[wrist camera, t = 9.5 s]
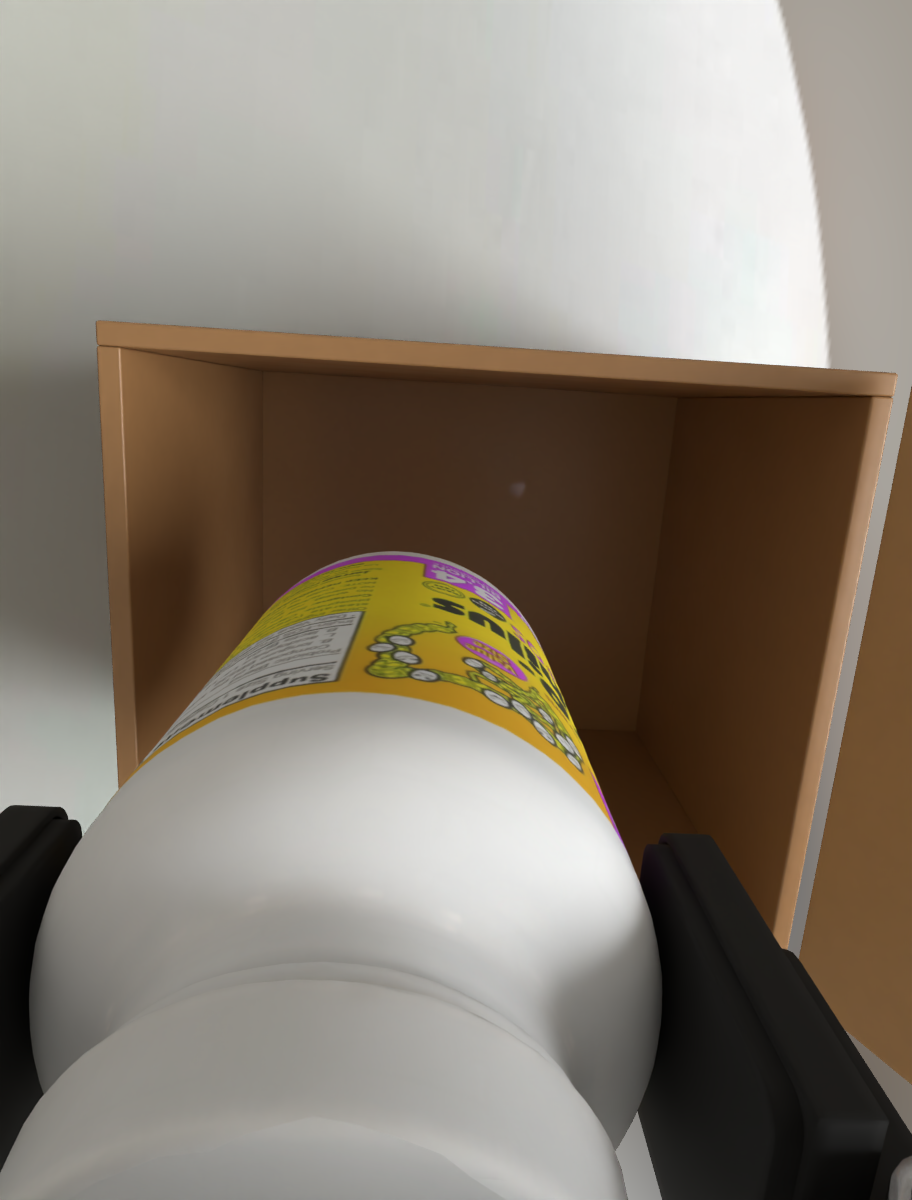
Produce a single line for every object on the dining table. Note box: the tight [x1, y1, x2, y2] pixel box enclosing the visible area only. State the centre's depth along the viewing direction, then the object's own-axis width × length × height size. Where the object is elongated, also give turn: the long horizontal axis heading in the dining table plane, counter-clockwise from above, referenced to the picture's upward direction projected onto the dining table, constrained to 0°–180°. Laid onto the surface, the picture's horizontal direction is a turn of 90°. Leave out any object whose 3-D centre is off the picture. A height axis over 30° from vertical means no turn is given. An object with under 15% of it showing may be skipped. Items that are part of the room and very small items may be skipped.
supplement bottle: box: [0, 551, 662, 1200], centre depth 11 cm, size 7×7×13 cm
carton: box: [96, 320, 898, 950], centre depth 25 cm, size 17×15×14 cm
